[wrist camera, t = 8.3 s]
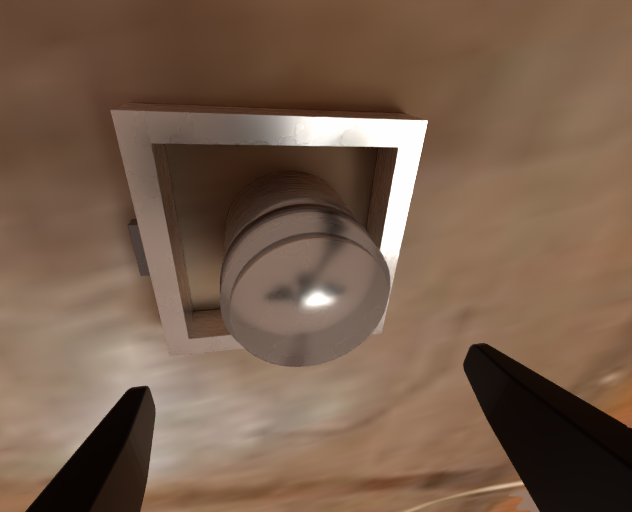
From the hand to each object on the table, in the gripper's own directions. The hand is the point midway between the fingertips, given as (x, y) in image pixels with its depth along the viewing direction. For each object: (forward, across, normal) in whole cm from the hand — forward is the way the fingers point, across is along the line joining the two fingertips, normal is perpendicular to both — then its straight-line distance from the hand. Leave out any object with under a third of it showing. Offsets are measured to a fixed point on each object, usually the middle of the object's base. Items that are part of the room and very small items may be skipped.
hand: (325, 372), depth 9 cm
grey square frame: (+8, 0, 0) cm, 8 cm away
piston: (+8, 0, 0) cm, 8 cm away
